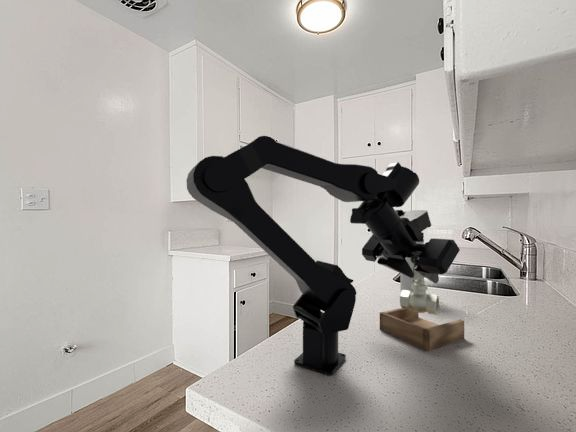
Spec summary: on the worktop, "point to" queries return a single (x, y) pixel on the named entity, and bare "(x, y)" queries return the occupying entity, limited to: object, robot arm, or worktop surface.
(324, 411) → the worktop surface
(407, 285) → the travel mug
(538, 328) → the worktop surface
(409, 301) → the valve
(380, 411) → the worktop surface
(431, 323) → the tray
